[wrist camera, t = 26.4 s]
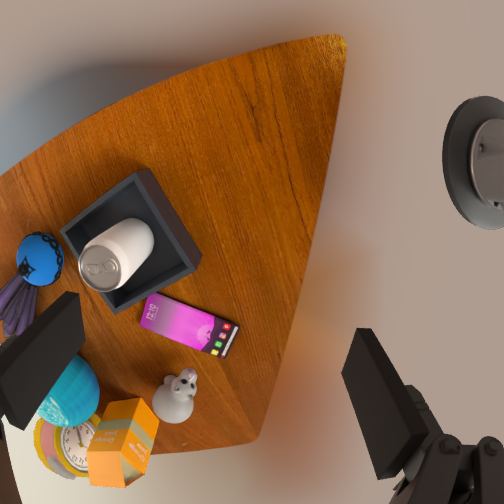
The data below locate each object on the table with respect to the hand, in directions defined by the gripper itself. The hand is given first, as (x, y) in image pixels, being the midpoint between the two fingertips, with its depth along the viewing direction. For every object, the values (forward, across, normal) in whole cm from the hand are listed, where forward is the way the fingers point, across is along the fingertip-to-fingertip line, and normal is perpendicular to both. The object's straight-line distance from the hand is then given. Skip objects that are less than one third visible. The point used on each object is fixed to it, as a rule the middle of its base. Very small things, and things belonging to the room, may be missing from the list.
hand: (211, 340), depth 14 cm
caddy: (+31, -14, -6) cm, 34 cm away
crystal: (+31, -41, -22) cm, 56 cm away
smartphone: (+31, -6, -19) cm, 37 cm away
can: (+30, -14, -6) cm, 34 cm away
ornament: (+31, -30, -10) cm, 44 cm away
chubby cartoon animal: (+31, -7, -31) cm, 44 cm away
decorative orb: (+31, -29, -34) cm, 54 cm away
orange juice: (+31, -17, -44) cm, 56 cm away
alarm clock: (+31, -30, -50) cm, 66 cm away
